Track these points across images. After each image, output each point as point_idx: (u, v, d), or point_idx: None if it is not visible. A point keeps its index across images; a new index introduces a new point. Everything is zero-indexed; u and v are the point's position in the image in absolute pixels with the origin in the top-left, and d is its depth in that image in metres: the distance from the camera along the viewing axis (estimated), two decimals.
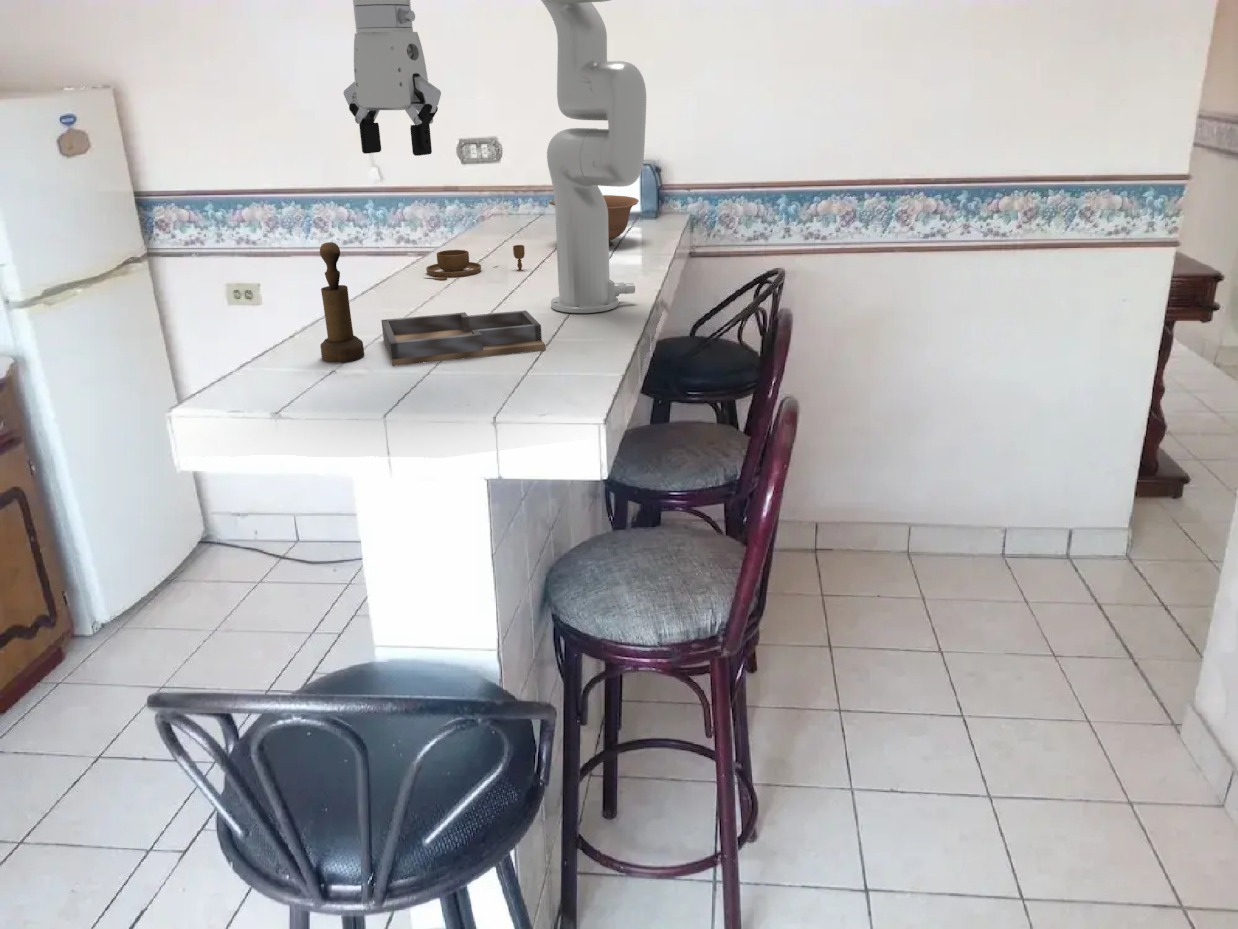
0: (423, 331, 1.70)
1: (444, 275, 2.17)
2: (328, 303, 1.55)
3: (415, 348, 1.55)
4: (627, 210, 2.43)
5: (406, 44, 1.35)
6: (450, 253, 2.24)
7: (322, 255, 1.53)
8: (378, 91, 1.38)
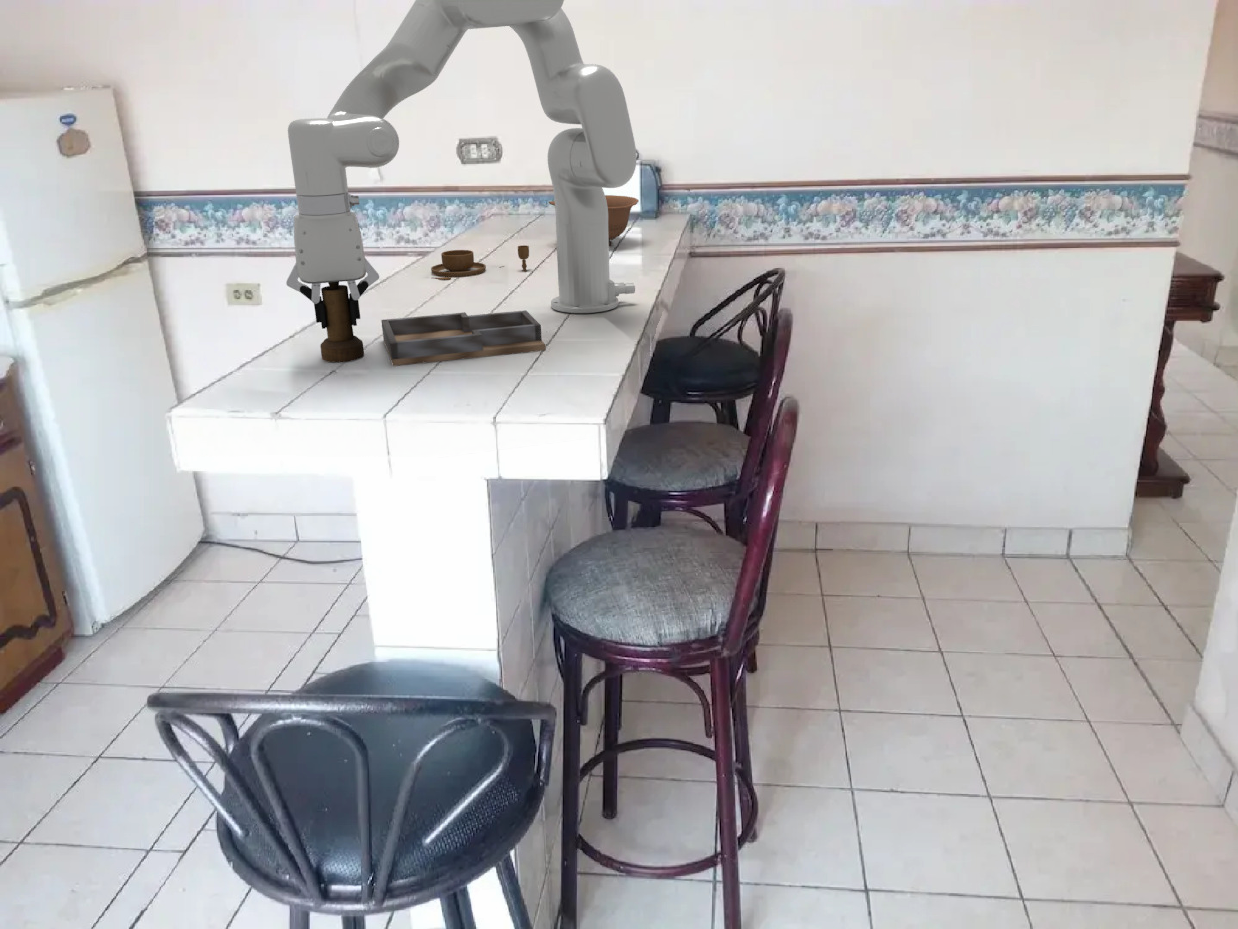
0: (423, 331, 1.70)
1: (448, 275, 2.17)
2: (328, 303, 1.55)
3: (415, 348, 1.55)
4: (627, 210, 2.43)
5: (357, 224, 1.53)
6: (455, 253, 2.24)
7: None
8: (332, 267, 1.53)
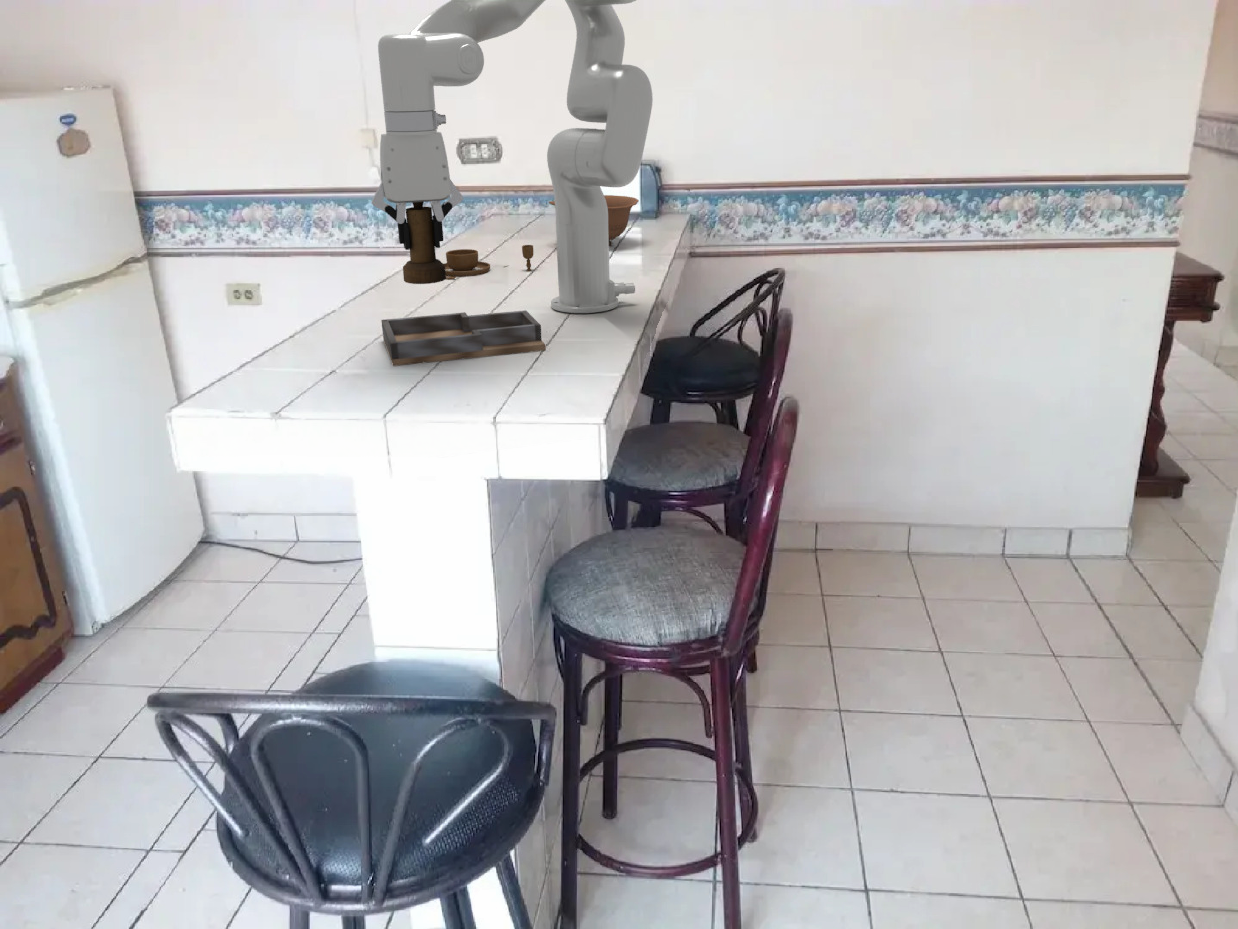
0: (423, 331, 1.70)
1: (452, 274, 2.18)
2: (413, 223, 1.55)
3: (415, 348, 1.55)
4: (627, 210, 2.43)
5: None
6: (460, 252, 2.25)
7: None
8: (418, 186, 1.53)
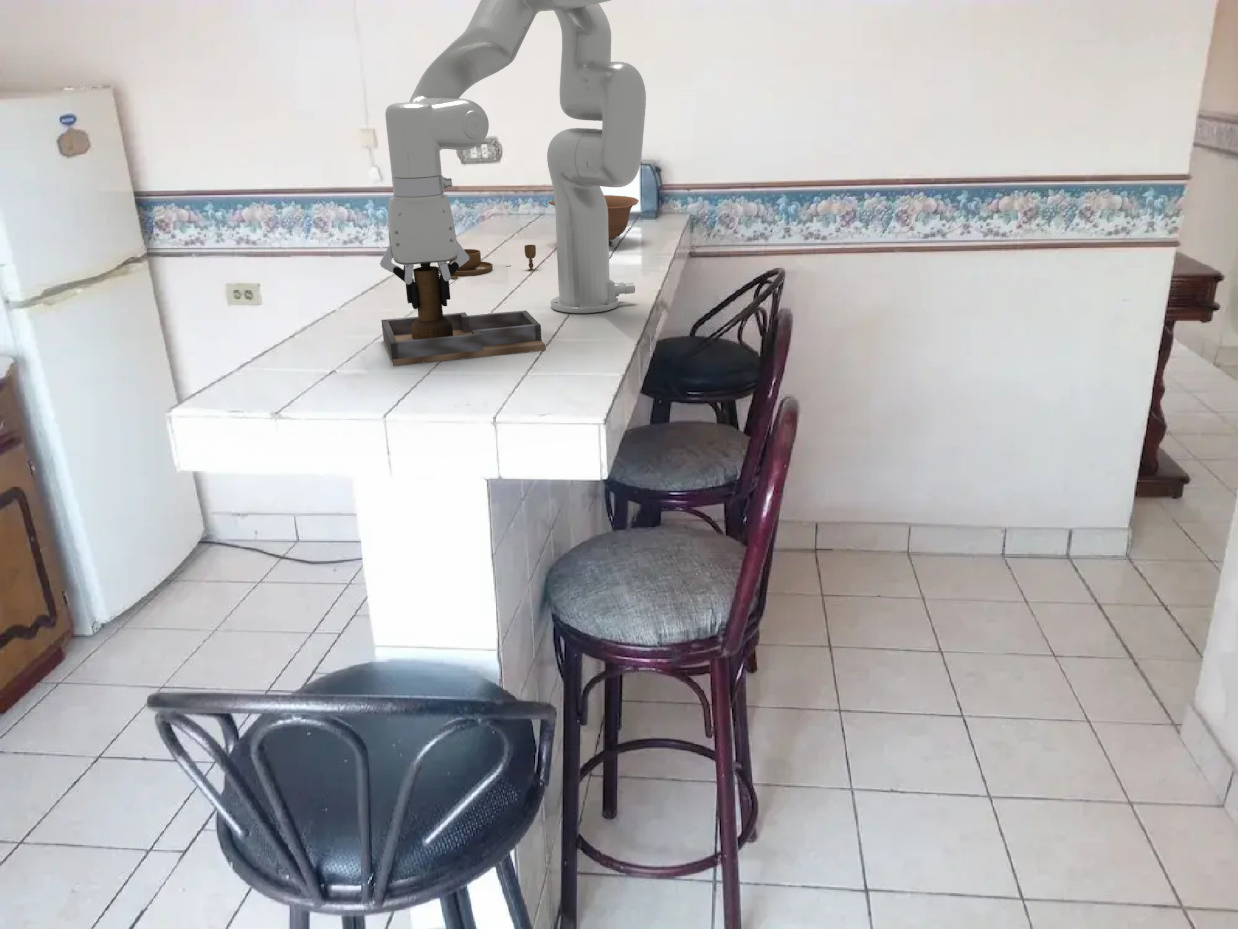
0: None
1: (455, 274, 2.18)
2: (420, 284, 1.59)
3: (415, 348, 1.55)
4: (627, 210, 2.43)
5: (450, 206, 1.57)
6: None
7: None
8: (426, 248, 1.56)
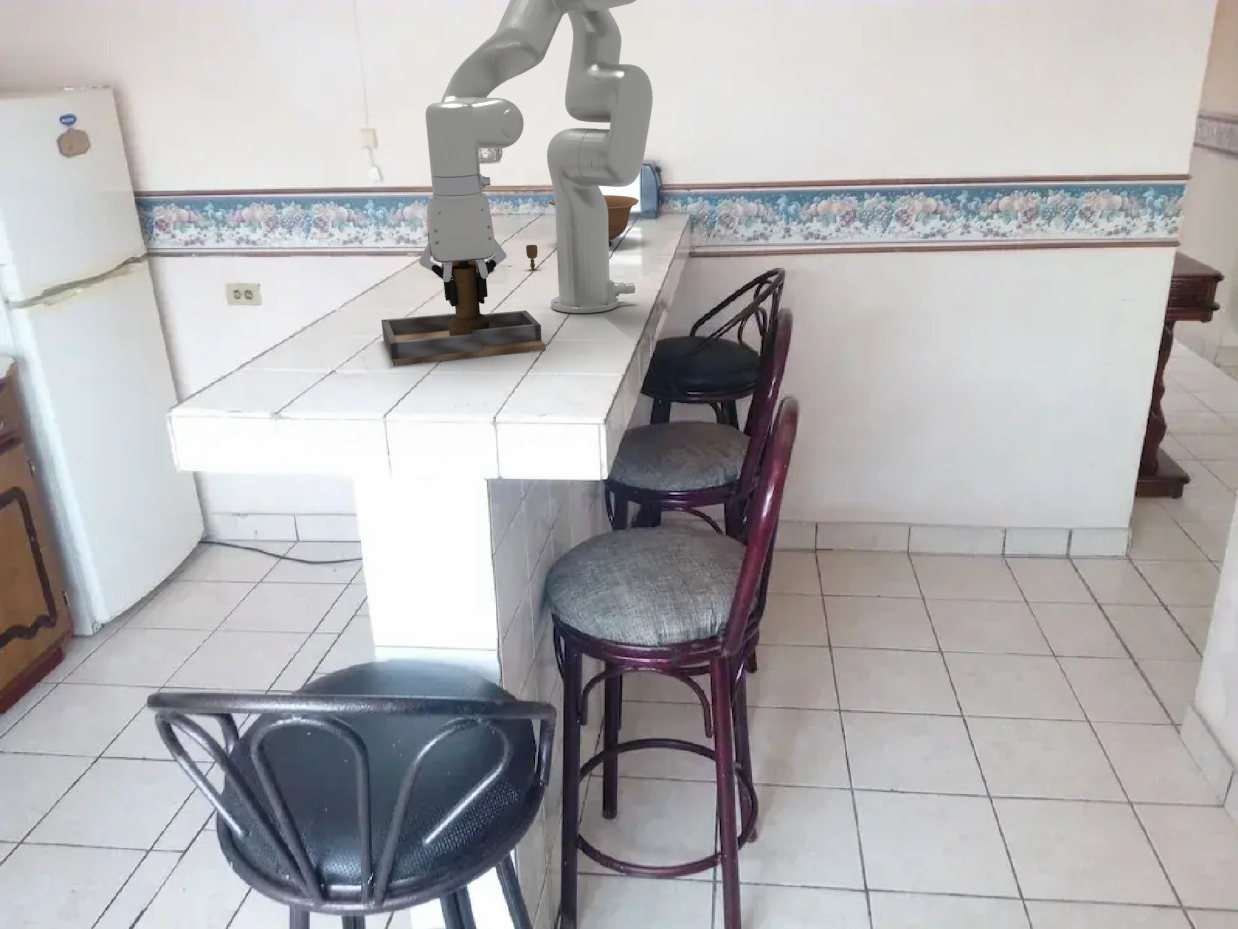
0: (423, 331, 1.70)
1: None
2: (458, 281, 1.60)
3: (415, 348, 1.55)
4: (627, 210, 2.43)
5: (488, 205, 1.58)
6: None
7: None
8: (464, 246, 1.58)
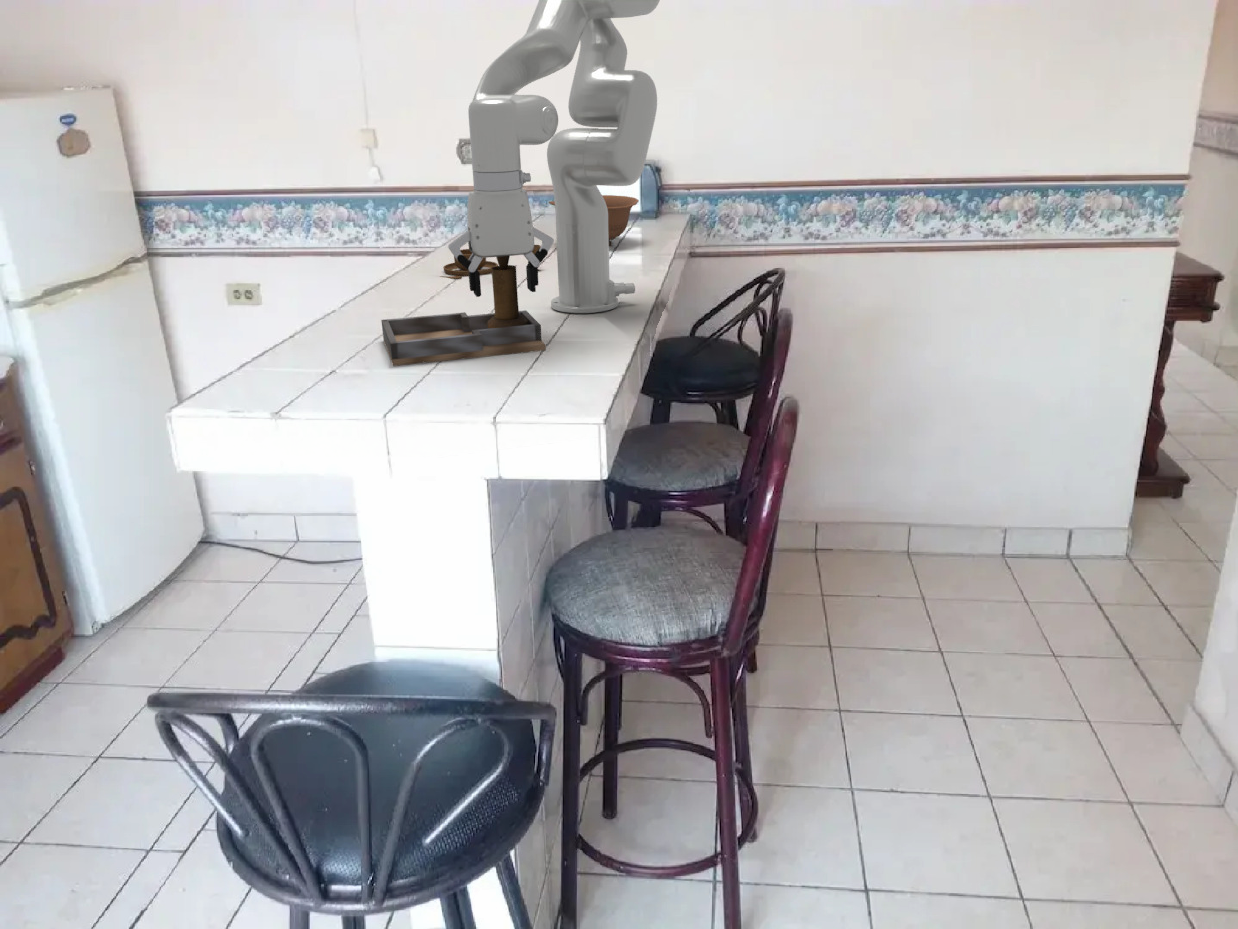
0: (423, 331, 1.70)
1: (459, 274, 2.18)
2: (499, 282, 1.62)
3: (415, 348, 1.55)
4: (627, 210, 2.43)
5: (528, 200, 1.60)
6: (468, 252, 2.25)
7: None
8: (504, 241, 1.59)
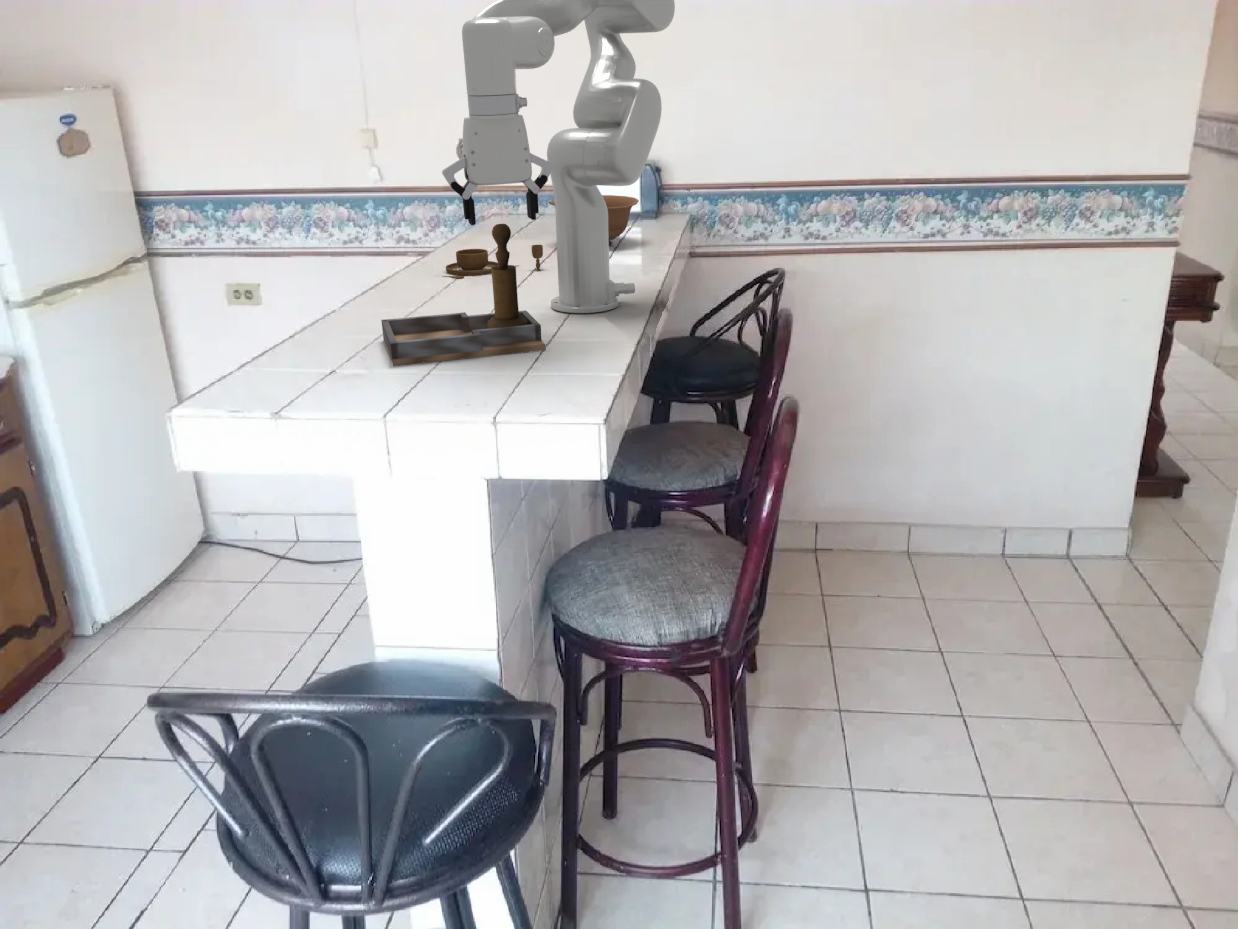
0: (423, 331, 1.70)
1: (462, 274, 2.18)
2: (498, 282, 1.62)
3: (415, 348, 1.55)
4: (627, 210, 2.43)
5: None
6: (470, 252, 2.25)
7: (495, 236, 1.60)
8: (501, 168, 1.56)
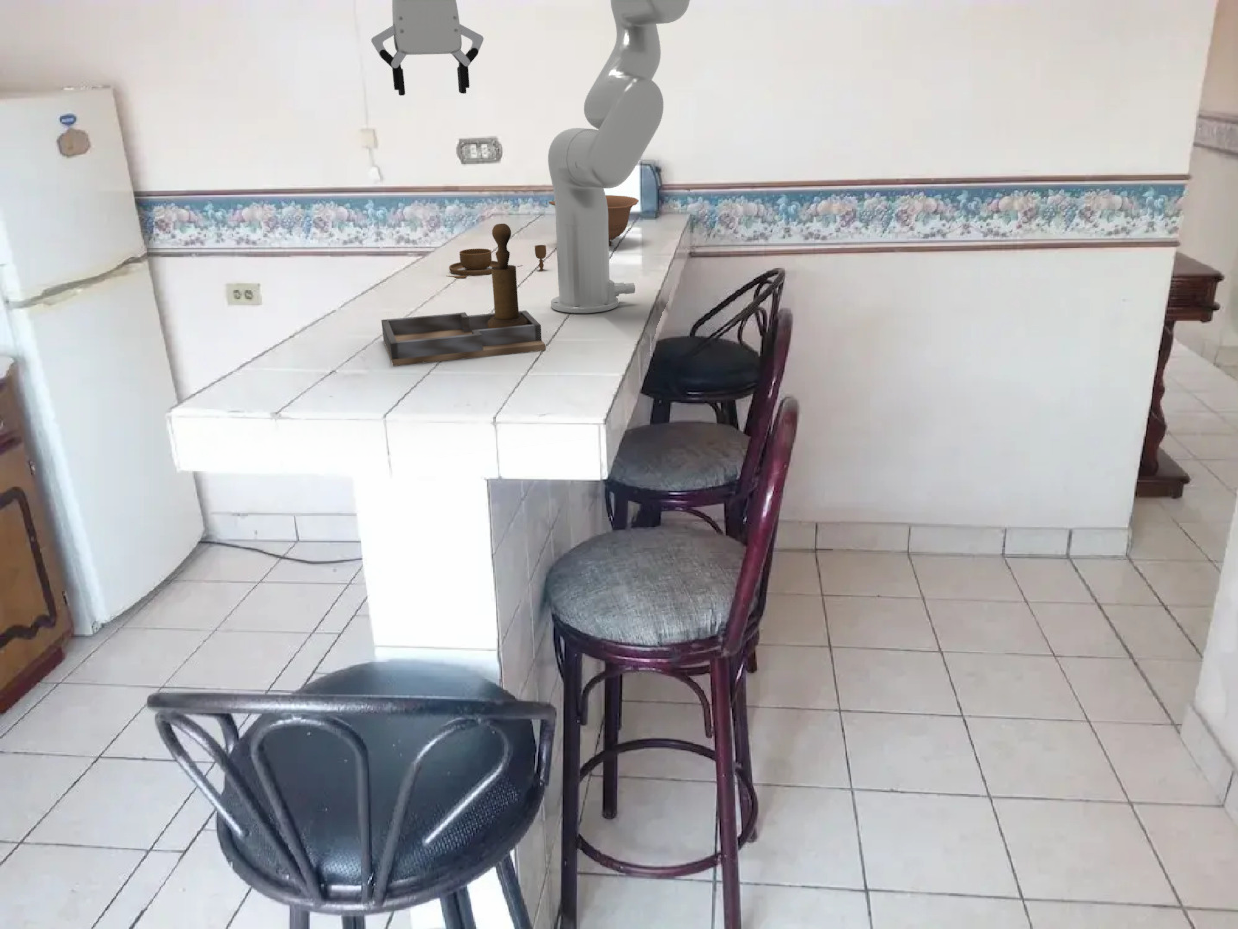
0: (423, 331, 1.70)
1: (464, 273, 2.18)
2: (498, 282, 1.62)
3: (415, 348, 1.55)
4: (627, 210, 2.43)
5: None
6: (474, 252, 2.25)
7: (495, 236, 1.60)
8: (430, 36, 1.56)
